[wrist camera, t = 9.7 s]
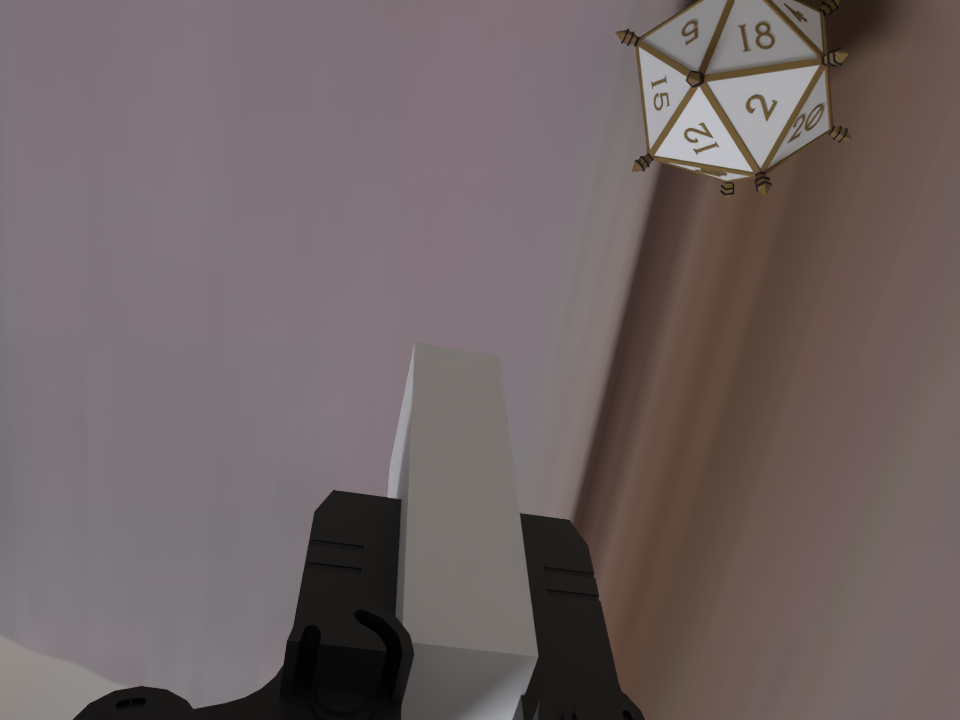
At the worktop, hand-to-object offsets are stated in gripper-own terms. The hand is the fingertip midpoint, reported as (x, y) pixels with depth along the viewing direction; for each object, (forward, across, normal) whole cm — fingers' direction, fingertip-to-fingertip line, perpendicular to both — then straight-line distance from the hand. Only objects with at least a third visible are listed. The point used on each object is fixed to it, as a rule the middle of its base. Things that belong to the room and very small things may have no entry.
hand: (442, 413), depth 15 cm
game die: (+25, +11, +4) cm, 27 cm away
